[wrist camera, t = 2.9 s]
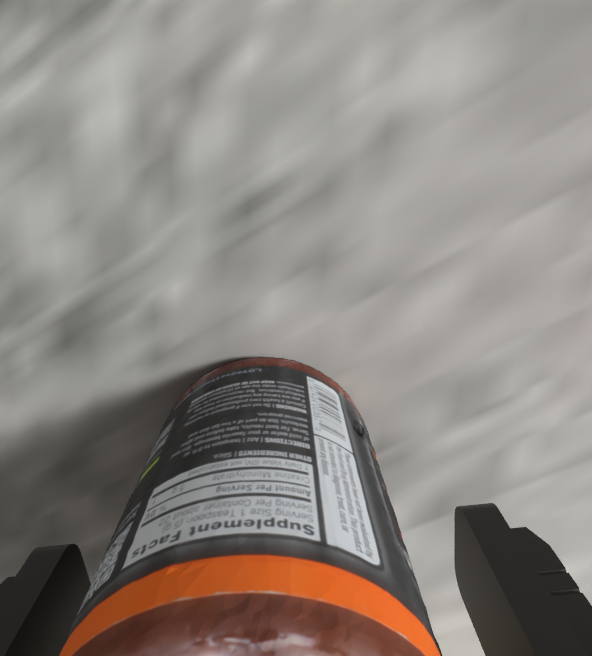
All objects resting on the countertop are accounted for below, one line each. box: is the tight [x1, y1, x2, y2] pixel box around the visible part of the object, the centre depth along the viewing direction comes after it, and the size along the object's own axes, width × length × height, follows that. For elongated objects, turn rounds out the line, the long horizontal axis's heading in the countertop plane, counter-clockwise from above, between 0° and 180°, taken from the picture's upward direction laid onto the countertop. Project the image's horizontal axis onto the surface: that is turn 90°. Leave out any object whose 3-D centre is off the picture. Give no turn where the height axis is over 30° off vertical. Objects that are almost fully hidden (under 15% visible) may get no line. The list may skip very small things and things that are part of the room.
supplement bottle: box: [59, 357, 442, 656], centre depth 9 cm, size 6×6×11 cm
